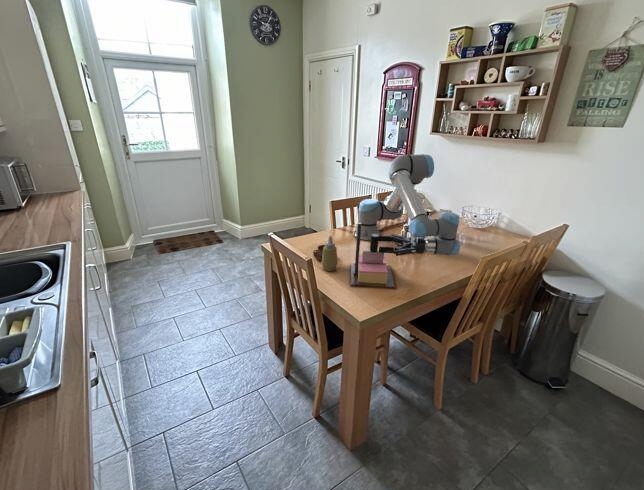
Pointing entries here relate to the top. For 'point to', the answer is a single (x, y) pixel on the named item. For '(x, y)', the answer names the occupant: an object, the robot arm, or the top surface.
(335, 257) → the squeeze bottle
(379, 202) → the robot arm
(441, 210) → the milk carton
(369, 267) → the cake
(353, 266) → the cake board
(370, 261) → the cutter
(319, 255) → the cup and saucer
